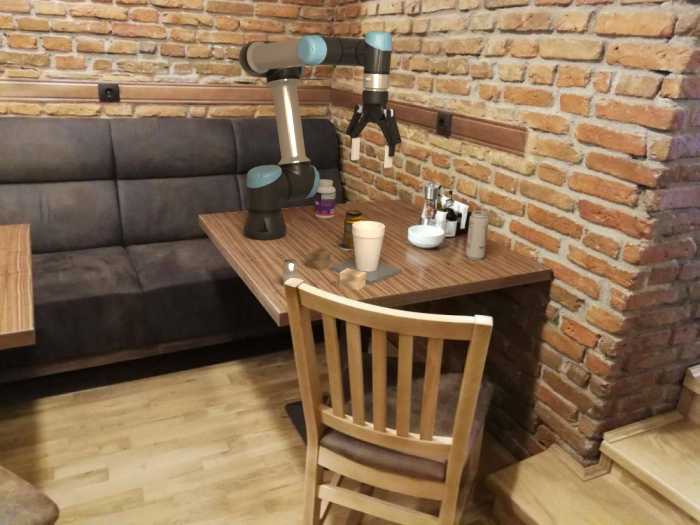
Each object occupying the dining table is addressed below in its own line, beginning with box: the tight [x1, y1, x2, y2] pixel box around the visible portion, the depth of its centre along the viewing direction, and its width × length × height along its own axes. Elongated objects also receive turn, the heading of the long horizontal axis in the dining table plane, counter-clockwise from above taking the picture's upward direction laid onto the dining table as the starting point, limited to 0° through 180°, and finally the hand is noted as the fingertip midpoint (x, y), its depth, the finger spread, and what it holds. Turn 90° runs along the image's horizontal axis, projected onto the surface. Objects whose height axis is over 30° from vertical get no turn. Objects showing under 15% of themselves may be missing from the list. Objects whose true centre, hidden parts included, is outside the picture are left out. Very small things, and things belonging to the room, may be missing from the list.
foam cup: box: [352, 220, 386, 271], centre depth 163 cm, size 10×9×13 cm
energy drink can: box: [465, 210, 490, 261], centre depth 177 cm, size 6×6×15 cm
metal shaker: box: [282, 258, 299, 288], centre depth 151 cm, size 4×4×7 cm
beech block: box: [339, 268, 367, 291], centre depth 154 cm, size 6×4×4 cm, turn 60°
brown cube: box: [306, 246, 331, 271], centre depth 166 cm, size 5×5×5 cm
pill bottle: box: [314, 178, 337, 220], centre depth 217 cm, size 8×8×14 cm
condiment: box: [333, 209, 363, 252], centre depth 184 cm, size 7×8×12 cm
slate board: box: [329, 257, 403, 286], centre depth 165 cm, size 16×14×1 cm
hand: (371, 163), depth 167 cm, fingers open, 13 cm apart
